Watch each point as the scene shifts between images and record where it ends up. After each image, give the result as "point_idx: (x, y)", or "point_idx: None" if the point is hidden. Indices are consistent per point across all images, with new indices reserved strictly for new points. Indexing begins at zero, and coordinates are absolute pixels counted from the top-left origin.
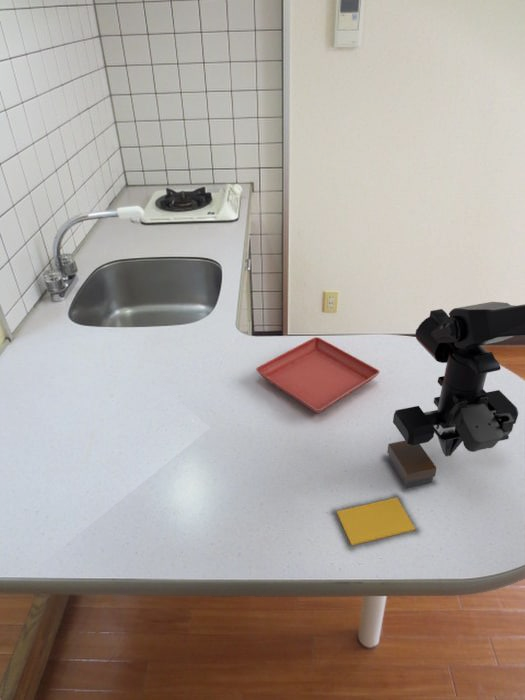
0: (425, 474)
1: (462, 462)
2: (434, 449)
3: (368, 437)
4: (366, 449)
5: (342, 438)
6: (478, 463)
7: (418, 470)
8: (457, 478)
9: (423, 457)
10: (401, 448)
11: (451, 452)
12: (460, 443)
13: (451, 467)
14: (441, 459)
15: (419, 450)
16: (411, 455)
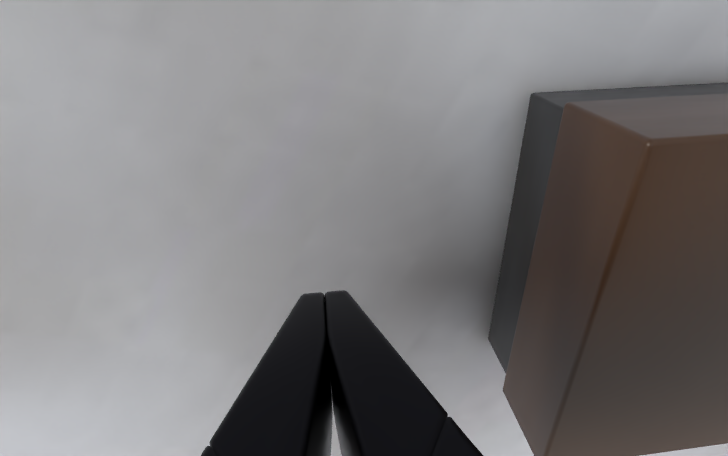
0: (722, 112)
1: (186, 232)
2: None
3: None
4: None
5: None
6: (46, 201)
7: None
8: (300, 84)
9: (653, 300)
10: (724, 400)
11: (307, 320)
12: (213, 437)
13: (295, 202)
14: (332, 278)
15: (616, 372)
16: (721, 333)
